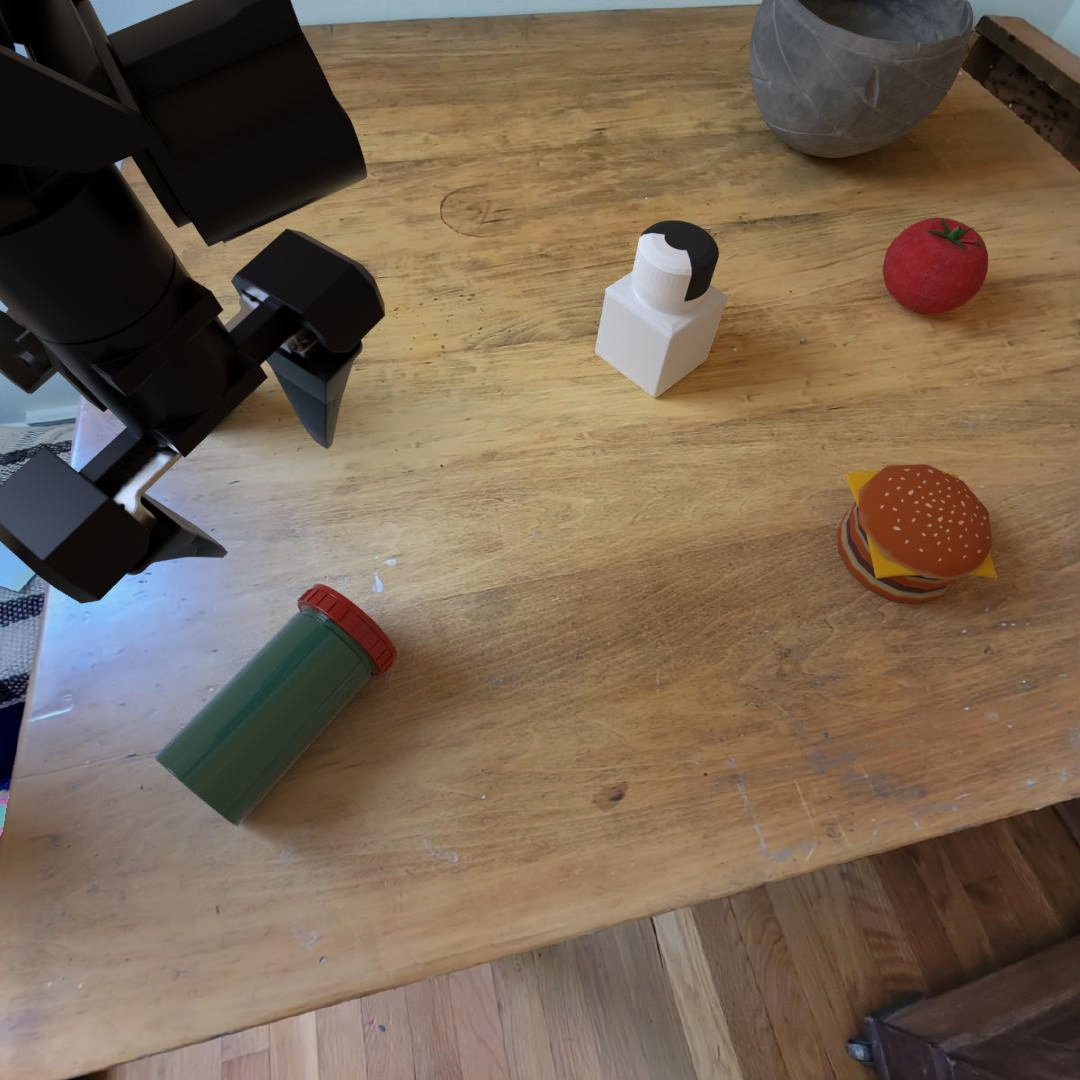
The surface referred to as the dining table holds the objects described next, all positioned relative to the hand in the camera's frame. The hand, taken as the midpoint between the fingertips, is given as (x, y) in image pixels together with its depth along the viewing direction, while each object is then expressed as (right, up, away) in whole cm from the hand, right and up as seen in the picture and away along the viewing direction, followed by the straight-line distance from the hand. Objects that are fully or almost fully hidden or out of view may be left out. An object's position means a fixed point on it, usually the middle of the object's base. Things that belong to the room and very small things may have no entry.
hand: (273, 495), depth 43 cm
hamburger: (+41, -3, +18) cm, 45 cm away
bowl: (+45, +42, +46) cm, 77 cm away
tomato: (+50, +20, +33) cm, 63 cm away
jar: (-5, -16, +2) cm, 17 cm away
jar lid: (+2, -8, +7) cm, 11 cm away
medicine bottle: (+24, +13, +26) cm, 38 cm away
